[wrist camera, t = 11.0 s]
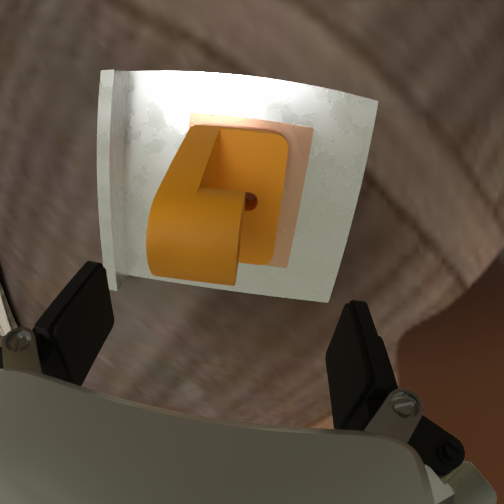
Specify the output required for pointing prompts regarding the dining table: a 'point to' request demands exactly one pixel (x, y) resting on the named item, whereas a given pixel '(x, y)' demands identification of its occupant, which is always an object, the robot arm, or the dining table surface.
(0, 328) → the newspaper
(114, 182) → the plate
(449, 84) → the dining table surface
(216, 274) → the bracket
